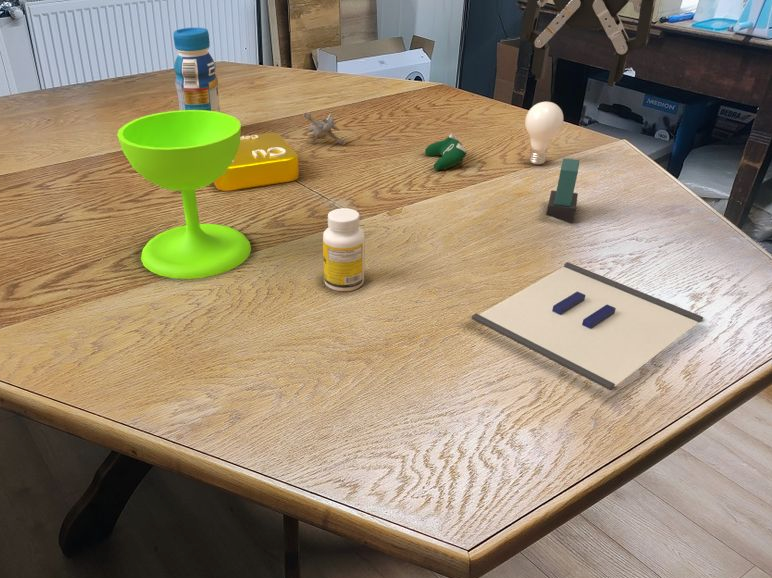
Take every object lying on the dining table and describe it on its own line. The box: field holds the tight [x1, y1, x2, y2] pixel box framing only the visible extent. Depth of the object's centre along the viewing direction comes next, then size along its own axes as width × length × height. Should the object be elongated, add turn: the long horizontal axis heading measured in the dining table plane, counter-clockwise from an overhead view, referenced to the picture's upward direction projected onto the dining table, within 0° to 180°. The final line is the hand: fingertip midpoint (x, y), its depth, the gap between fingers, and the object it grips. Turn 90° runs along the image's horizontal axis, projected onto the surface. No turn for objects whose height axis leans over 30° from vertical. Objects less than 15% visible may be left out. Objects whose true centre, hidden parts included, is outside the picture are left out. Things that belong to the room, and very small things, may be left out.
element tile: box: [212, 132, 300, 192], centre depth 123 cm, size 15×15×5 cm
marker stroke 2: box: [582, 305, 616, 329], centre depth 80 cm, size 5×1×1 cm, turn 129°
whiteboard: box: [471, 261, 704, 391], centre depth 81 cm, size 20×18×2 cm
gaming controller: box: [424, 132, 468, 172], centre depth 125 cm, size 9×4×6 cm
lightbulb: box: [524, 101, 565, 166], centre depth 120 cm, size 6×6×11 cm
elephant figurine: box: [303, 111, 346, 146], centre depth 135 cm, size 10×6×9 cm
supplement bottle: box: [322, 207, 366, 292], centre depth 88 cm, size 5×5×10 cm
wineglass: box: [117, 109, 252, 280], centre depth 94 cm, size 16×16×18 cm
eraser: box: [545, 157, 580, 224], centre depth 104 cm, size 6×4×8 cm, turn 159°
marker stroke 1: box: [552, 292, 586, 315], centre depth 83 cm, size 5×1×1 cm, turn 129°
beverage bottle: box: [172, 27, 221, 112], centre depth 136 cm, size 8×8×20 cm
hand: (574, 81), depth 85 cm, fingers open, 8 cm apart
